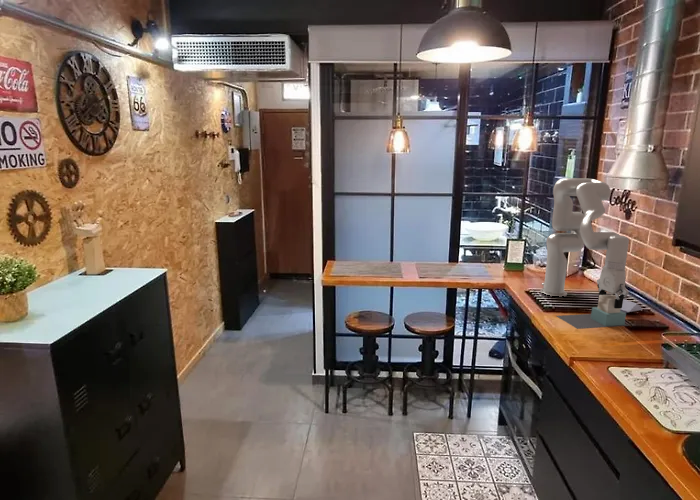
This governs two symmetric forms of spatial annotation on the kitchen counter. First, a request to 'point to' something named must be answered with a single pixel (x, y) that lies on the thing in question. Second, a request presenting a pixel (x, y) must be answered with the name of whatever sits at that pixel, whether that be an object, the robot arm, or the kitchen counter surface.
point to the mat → (583, 321)
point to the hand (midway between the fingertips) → (609, 304)
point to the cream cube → (607, 304)
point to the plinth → (608, 317)
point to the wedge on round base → (629, 306)
